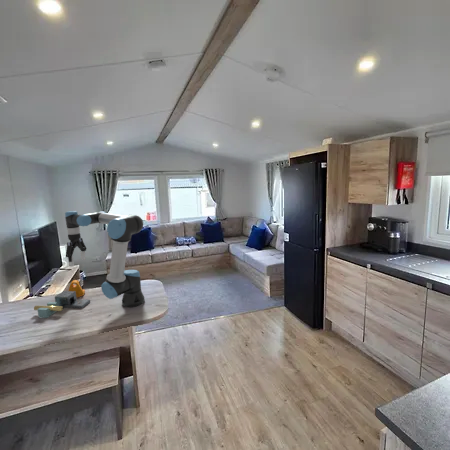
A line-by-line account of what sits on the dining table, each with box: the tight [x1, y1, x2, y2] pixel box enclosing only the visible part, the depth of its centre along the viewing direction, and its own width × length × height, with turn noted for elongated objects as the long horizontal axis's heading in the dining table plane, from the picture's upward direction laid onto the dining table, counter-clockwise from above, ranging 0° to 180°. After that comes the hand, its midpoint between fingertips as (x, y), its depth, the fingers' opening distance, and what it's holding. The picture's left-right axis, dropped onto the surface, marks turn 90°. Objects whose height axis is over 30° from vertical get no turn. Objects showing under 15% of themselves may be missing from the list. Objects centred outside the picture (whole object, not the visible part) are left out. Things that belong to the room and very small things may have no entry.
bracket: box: [67, 279, 86, 298], centre depth 201 cm, size 11×7×12 cm, turn 108°
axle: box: [33, 305, 64, 312], centre depth 175 cm, size 18×3×3 cm, turn 84°
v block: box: [36, 301, 58, 319], centre depth 175 cm, size 6×10×6 cm, turn 174°
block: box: [54, 290, 91, 309], centre depth 187 cm, size 19×9×8 cm, turn 84°
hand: (78, 262), depth 190 cm, fingers open, 13 cm apart
